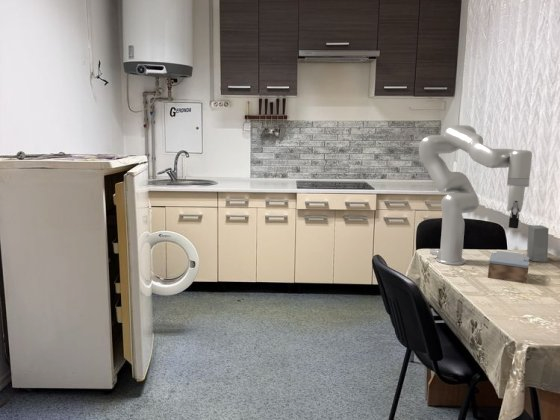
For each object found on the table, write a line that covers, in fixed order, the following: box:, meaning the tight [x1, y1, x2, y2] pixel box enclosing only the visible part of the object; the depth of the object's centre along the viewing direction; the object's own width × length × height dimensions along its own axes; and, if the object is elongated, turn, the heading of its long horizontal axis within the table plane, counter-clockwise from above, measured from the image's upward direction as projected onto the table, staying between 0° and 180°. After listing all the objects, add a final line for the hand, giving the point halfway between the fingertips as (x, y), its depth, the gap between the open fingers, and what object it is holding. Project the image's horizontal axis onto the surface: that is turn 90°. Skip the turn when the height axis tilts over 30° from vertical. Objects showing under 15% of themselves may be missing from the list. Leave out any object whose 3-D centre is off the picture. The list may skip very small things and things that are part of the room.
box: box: [487, 262, 529, 284], centre depth 185 cm, size 14×14×6 cm
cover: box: [488, 249, 530, 269], centre depth 184 cm, size 14×14×4 cm
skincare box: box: [526, 224, 550, 263], centre depth 209 cm, size 8×7×16 cm
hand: (513, 225), depth 177 cm, fingers open, 9 cm apart
